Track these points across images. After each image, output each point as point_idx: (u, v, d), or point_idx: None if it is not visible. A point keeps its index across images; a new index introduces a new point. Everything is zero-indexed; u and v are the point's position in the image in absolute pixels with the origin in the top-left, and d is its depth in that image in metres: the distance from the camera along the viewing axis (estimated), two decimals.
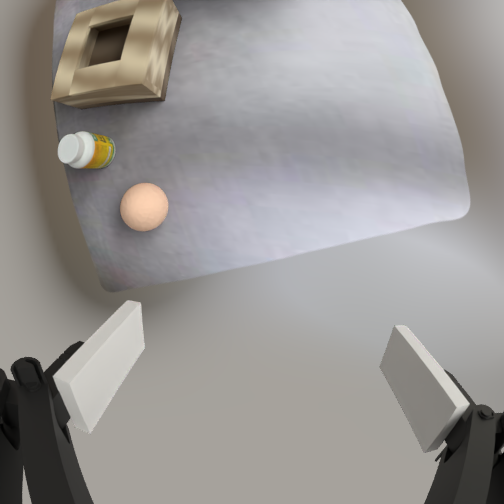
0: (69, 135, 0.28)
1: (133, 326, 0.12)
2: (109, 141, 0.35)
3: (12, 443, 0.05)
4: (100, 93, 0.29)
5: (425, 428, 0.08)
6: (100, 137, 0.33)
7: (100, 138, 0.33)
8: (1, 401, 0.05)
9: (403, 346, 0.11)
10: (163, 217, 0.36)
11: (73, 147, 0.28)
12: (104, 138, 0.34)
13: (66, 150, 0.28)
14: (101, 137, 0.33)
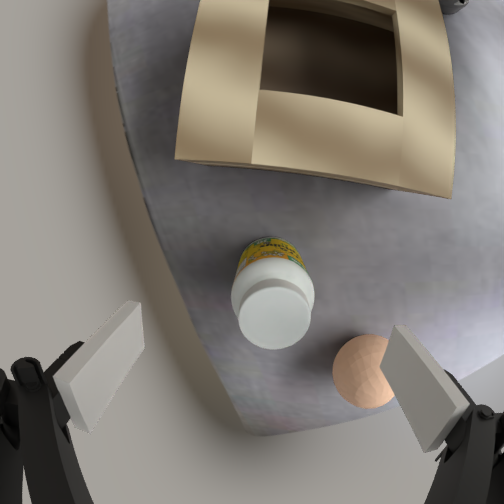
0: (280, 291, 0.14)
1: (133, 326, 0.12)
2: None
3: (12, 443, 0.05)
4: (331, 175, 0.15)
5: (425, 428, 0.08)
6: (300, 260, 0.20)
7: (301, 261, 0.20)
8: (1, 401, 0.05)
9: (403, 346, 0.11)
10: None
11: (294, 321, 0.15)
12: (298, 256, 0.21)
13: (270, 324, 0.15)
14: (299, 258, 0.20)
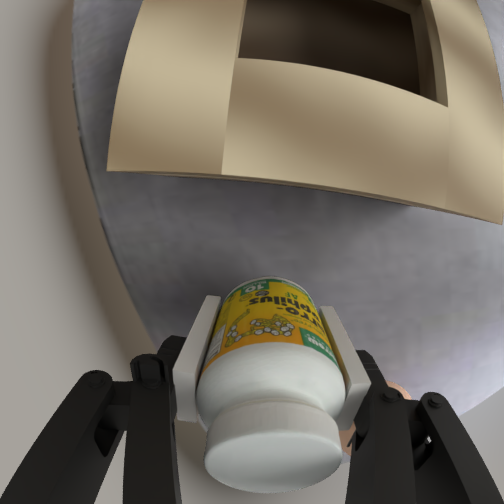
0: (288, 438, 0.05)
1: (217, 318, 0.14)
2: None
3: (100, 448, 0.06)
4: (346, 190, 0.10)
5: None
6: (320, 326, 0.11)
7: (321, 327, 0.11)
8: (101, 409, 0.06)
9: (323, 324, 0.13)
10: None
11: (311, 468, 0.06)
12: (315, 314, 0.12)
13: (265, 472, 0.06)
14: (317, 321, 0.11)
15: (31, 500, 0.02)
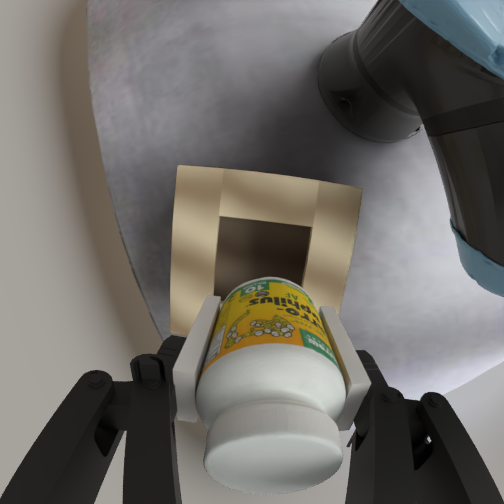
0: (288, 440, 0.05)
1: (217, 318, 0.14)
2: None
3: (100, 448, 0.06)
4: None
5: None
6: (320, 327, 0.11)
7: (321, 328, 0.11)
8: (102, 409, 0.06)
9: (323, 325, 0.13)
10: None
11: (311, 469, 0.06)
12: (316, 315, 0.12)
13: (265, 474, 0.06)
14: (318, 322, 0.11)
15: (31, 500, 0.02)
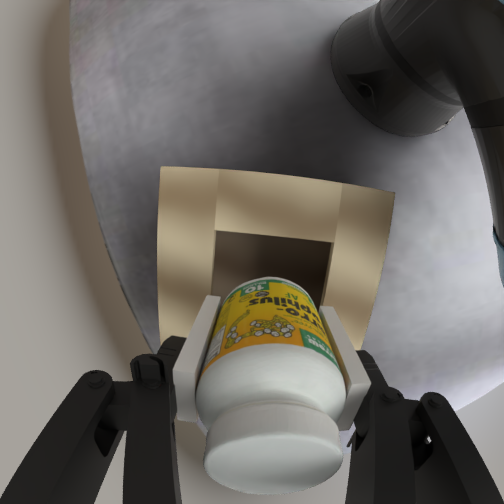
0: (288, 440, 0.05)
1: (217, 318, 0.14)
2: None
3: (100, 448, 0.06)
4: None
5: None
6: (320, 327, 0.11)
7: (321, 328, 0.11)
8: (101, 409, 0.06)
9: (323, 325, 0.13)
10: None
11: (311, 470, 0.06)
12: (316, 315, 0.12)
13: (265, 474, 0.06)
14: (318, 322, 0.11)
15: (31, 500, 0.02)
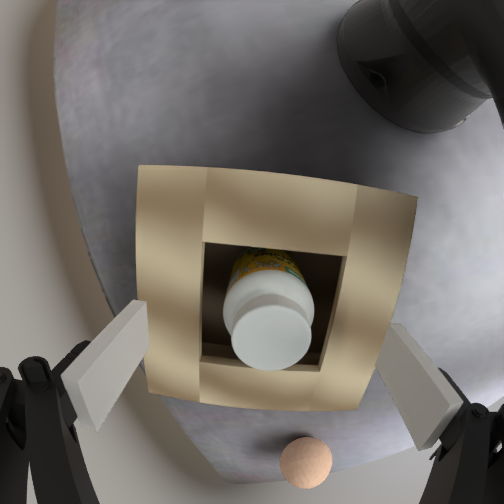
0: (278, 310, 0.13)
1: (139, 325, 0.12)
2: (297, 265, 0.20)
3: (17, 443, 0.05)
4: None
5: (419, 426, 0.08)
6: (298, 270, 0.18)
7: (299, 271, 0.18)
8: (7, 401, 0.05)
9: (398, 344, 0.11)
10: None
11: (293, 341, 0.13)
12: (296, 265, 0.19)
13: (267, 344, 0.13)
14: (297, 268, 0.18)
15: None
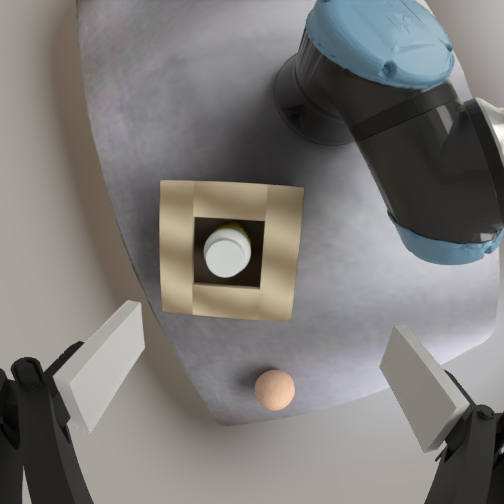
0: (226, 242, 0.28)
1: (133, 326, 0.12)
2: (248, 232, 0.36)
3: (12, 443, 0.05)
4: None
5: (425, 428, 0.08)
6: (244, 232, 0.33)
7: (245, 232, 0.34)
8: (1, 401, 0.05)
9: (403, 346, 0.11)
10: None
11: (235, 259, 0.29)
12: (245, 230, 0.35)
13: (222, 261, 0.29)
14: (244, 231, 0.34)
15: None
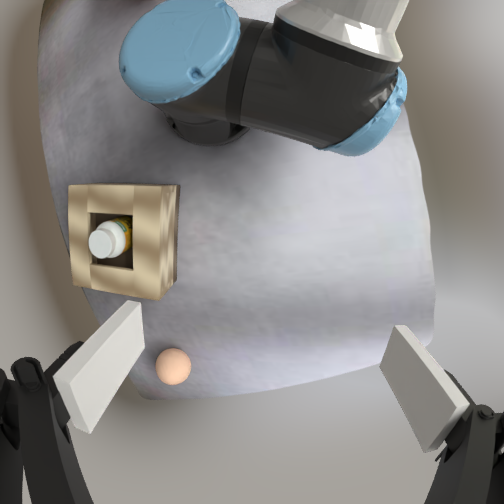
0: (99, 231, 0.33)
1: (133, 326, 0.12)
2: None
3: (12, 443, 0.05)
4: None
5: (425, 428, 0.08)
6: (127, 224, 0.38)
7: (128, 224, 0.38)
8: (1, 401, 0.05)
9: (403, 346, 0.11)
10: (188, 374, 0.47)
11: (106, 244, 0.33)
12: (131, 223, 0.39)
13: (98, 246, 0.33)
14: (128, 223, 0.38)
15: None
